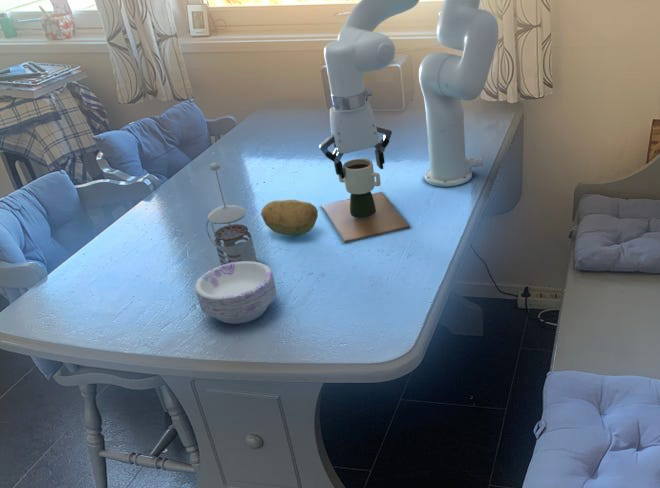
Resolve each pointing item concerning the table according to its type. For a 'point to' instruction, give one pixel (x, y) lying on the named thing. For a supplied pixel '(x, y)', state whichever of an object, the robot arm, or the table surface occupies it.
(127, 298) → the table surface
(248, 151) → the table surface
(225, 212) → the french press
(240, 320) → the paper bowls
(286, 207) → the potato
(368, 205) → the character mug
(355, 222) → the placemat
